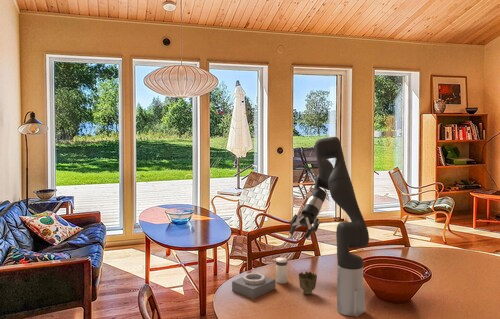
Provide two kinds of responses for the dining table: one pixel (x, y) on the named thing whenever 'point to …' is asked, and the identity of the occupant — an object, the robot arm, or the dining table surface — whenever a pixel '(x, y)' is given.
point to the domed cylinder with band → (281, 270)
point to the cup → (307, 282)
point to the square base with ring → (253, 285)
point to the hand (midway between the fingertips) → (298, 235)
